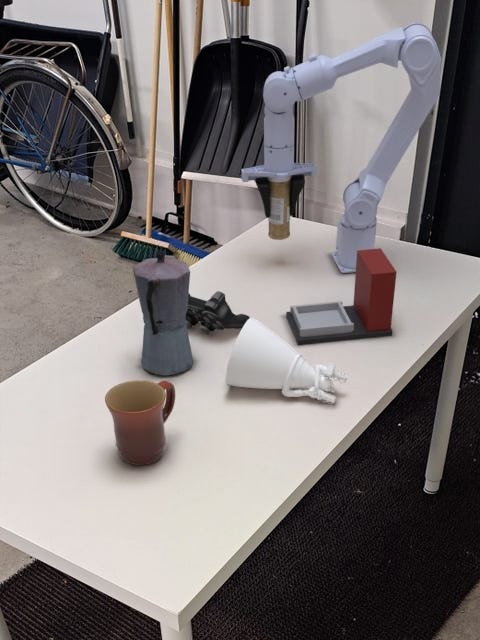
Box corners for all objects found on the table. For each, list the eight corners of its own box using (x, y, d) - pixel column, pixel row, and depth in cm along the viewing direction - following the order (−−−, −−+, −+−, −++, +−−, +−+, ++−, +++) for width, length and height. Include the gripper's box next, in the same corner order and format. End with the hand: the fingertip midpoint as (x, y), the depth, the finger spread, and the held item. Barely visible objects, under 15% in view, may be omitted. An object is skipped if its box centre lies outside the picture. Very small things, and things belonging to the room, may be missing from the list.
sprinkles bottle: (294, 236, 174) (295, 168, 165) (278, 242, 172) (279, 174, 163) (278, 229, 177) (279, 162, 168) (263, 236, 174) (262, 168, 165)
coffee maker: (286, 316, 161) (286, 255, 153) (375, 307, 163) (381, 246, 155) (297, 345, 153) (299, 282, 145) (392, 335, 154) (398, 272, 146)
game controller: (167, 329, 164) (147, 296, 155) (185, 302, 165) (166, 267, 156) (237, 352, 156) (220, 319, 148) (255, 323, 158) (239, 288, 149)
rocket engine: (356, 346, 133) (250, 306, 135) (328, 414, 132) (222, 373, 134) (354, 368, 144) (256, 331, 146) (328, 430, 143) (230, 392, 146)
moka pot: (201, 344, 154) (194, 235, 141) (189, 390, 142) (180, 277, 129) (149, 342, 155) (137, 234, 141) (133, 388, 143) (118, 275, 130)
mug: (142, 478, 125) (135, 420, 118) (101, 456, 129) (92, 399, 122) (197, 440, 132) (193, 383, 125) (156, 421, 136) (150, 364, 129)
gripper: (244, 153, 159) (246, 225, 168) (321, 147, 160) (318, 219, 169) (239, 141, 164) (241, 212, 173) (313, 136, 165) (311, 206, 174)
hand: (278, 214), depth 171 cm, fingers closed on sprinkles bottle, 4 cm apart
